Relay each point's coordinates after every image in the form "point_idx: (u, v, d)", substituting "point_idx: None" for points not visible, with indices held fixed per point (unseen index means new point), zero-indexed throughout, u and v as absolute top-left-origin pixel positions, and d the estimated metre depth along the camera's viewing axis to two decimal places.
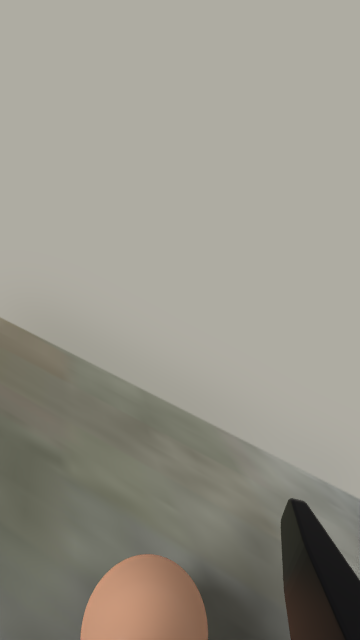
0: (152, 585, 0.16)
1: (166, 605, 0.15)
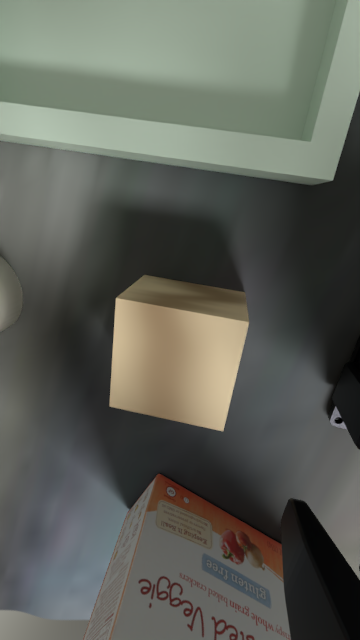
0: None
1: None
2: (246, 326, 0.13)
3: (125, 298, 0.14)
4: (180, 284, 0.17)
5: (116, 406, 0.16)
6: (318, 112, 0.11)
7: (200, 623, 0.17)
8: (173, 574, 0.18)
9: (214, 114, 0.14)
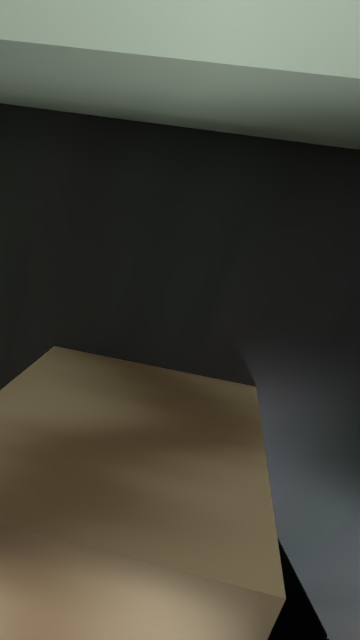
0: None
1: None
2: (276, 608, 0.04)
3: None
4: (119, 376, 0.08)
5: None
6: None
7: None
8: None
9: None
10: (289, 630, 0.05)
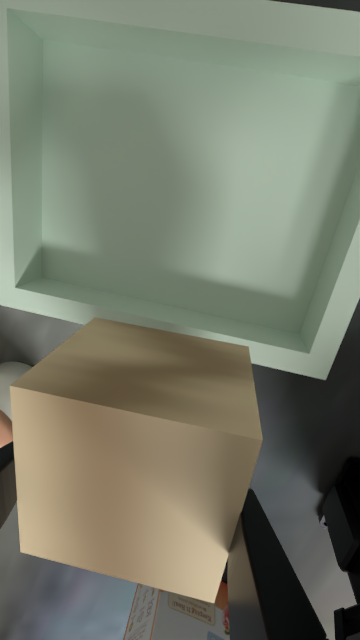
0: None
1: None
2: (257, 447, 0.07)
3: (29, 385, 0.07)
4: (146, 337, 0.11)
5: (32, 552, 0.09)
6: (315, 335, 0.15)
7: None
8: None
9: (232, 301, 0.17)
10: (288, 630, 0.05)
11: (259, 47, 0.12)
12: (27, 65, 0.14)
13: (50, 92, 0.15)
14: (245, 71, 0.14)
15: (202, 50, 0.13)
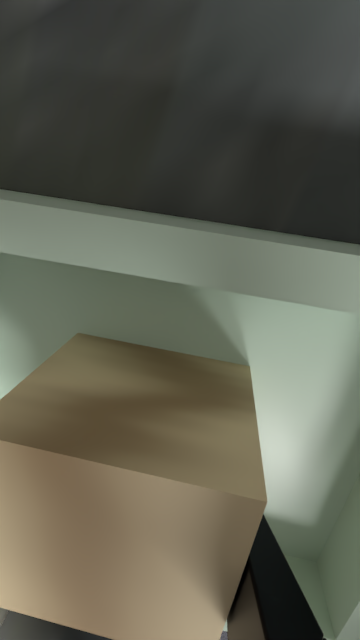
0: None
1: None
2: (260, 509, 0.06)
3: None
4: (135, 357, 0.10)
5: (4, 606, 0.08)
6: (344, 621, 0.10)
7: None
8: None
9: None
10: (285, 629, 0.05)
11: (248, 290, 0.07)
12: None
13: None
14: None
15: None
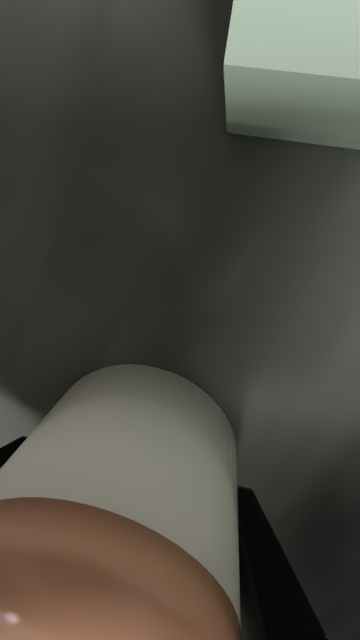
0: None
1: (13, 629, 0.05)
2: None
3: None
4: None
5: None
6: None
7: None
8: None
9: None
10: (287, 629, 0.05)
11: None
12: None
13: None
14: None
15: None
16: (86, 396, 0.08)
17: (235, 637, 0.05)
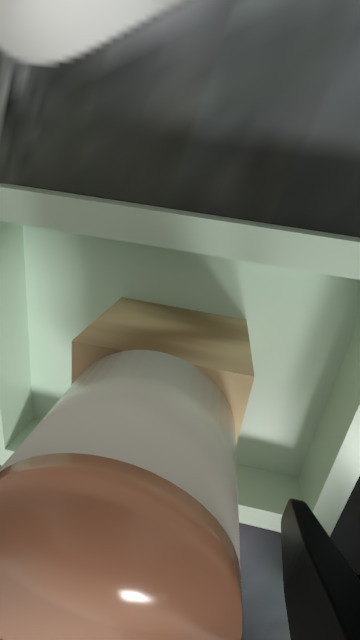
0: (14, 586, 0.06)
1: (45, 566, 0.06)
2: (250, 382, 0.10)
3: (85, 340, 0.10)
4: (164, 311, 0.14)
5: None
6: (314, 505, 0.14)
7: None
8: None
9: None
10: None
11: (244, 259, 0.11)
12: (6, 249, 0.13)
13: (32, 261, 0.15)
14: None
15: None
16: (100, 376, 0.09)
17: (235, 570, 0.06)
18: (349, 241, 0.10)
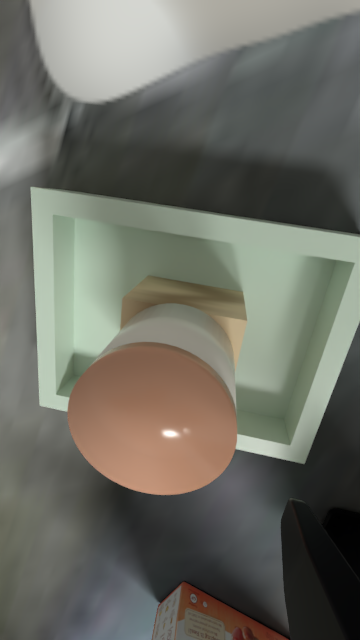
0: (107, 421, 0.11)
1: (128, 405, 0.10)
2: (244, 324, 0.14)
3: (131, 298, 0.15)
4: (182, 285, 0.18)
5: None
6: (294, 432, 0.19)
7: None
8: None
9: None
10: None
11: (240, 243, 0.16)
12: (65, 238, 0.18)
13: (80, 247, 0.19)
14: None
15: None
16: (147, 315, 0.13)
17: (234, 407, 0.10)
18: (312, 230, 0.15)
